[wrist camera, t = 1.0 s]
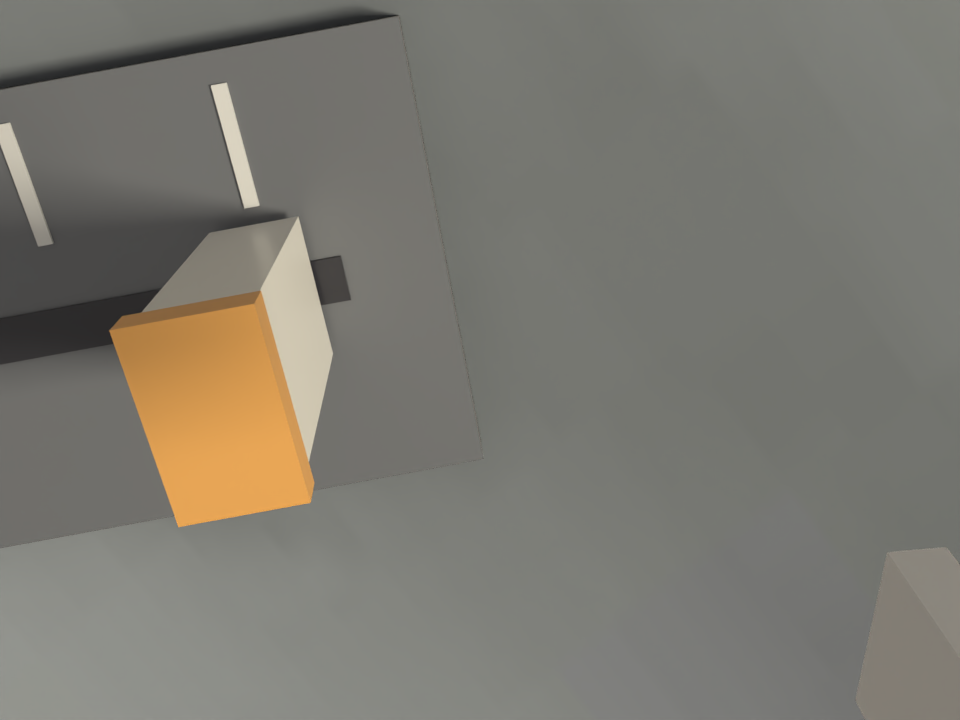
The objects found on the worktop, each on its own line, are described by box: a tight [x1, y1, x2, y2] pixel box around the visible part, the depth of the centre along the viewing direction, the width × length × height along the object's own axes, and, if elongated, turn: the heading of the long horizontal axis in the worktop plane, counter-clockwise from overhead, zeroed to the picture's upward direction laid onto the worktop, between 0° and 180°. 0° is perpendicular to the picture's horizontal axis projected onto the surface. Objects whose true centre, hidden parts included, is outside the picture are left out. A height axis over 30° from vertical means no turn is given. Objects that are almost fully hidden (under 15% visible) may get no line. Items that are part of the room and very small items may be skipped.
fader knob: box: [109, 216, 333, 527], centre depth 26 cm, size 5×3×10 cm, turn 10°
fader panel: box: [0, 15, 484, 548], centre depth 32 cm, size 16×26×2 cm, turn 100°
